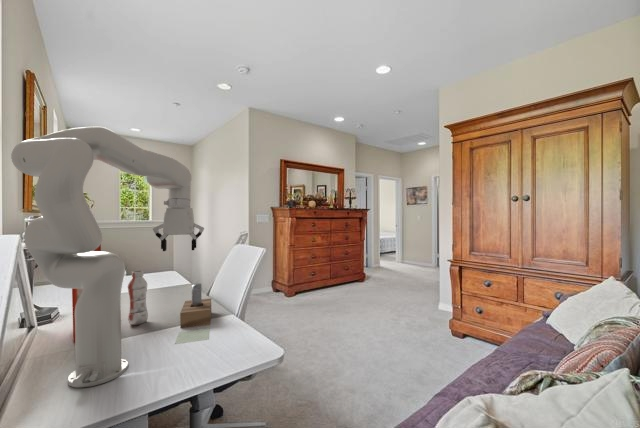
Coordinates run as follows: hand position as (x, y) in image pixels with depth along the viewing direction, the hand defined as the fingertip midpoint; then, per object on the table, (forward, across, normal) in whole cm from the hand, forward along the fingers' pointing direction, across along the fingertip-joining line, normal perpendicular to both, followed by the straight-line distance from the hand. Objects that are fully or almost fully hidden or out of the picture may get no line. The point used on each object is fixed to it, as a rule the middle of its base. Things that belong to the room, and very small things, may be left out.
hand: (179, 250), depth 109 cm
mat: (+28, +6, -11) cm, 31 cm away
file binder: (+29, -30, +6) cm, 42 cm away
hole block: (+28, +6, +6) cm, 29 cm away
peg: (+28, +6, +6) cm, 29 cm away
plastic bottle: (+28, -15, +9) cm, 33 cm away
